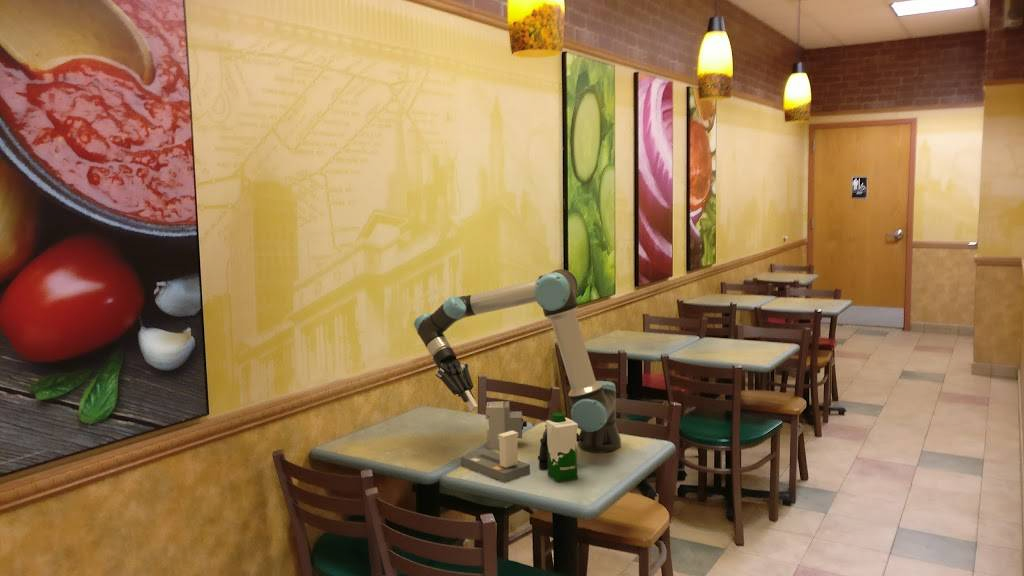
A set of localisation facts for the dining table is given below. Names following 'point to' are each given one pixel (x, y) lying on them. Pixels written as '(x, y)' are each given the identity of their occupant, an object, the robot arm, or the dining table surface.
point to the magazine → (545, 451)
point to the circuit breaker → (502, 422)
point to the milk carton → (562, 448)
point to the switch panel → (494, 465)
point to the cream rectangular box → (508, 448)
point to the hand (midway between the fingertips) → (474, 408)
